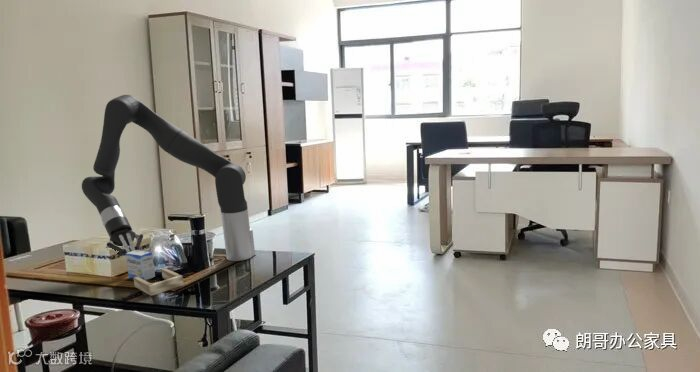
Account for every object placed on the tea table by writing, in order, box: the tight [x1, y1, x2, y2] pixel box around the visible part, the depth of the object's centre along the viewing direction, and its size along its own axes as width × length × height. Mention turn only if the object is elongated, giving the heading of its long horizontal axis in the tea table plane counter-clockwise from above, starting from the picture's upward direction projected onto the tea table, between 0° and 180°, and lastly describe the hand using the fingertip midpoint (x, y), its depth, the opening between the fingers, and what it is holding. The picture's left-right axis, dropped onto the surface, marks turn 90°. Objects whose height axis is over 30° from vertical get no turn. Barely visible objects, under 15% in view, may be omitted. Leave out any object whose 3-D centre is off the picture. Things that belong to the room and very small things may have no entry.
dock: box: [132, 267, 184, 297], centre depth 165 cm, size 10×12×3 cm
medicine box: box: [125, 249, 156, 281], centre depth 173 cm, size 8×4×9 cm, turn 60°
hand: (135, 262), depth 177 cm, fingers closed
